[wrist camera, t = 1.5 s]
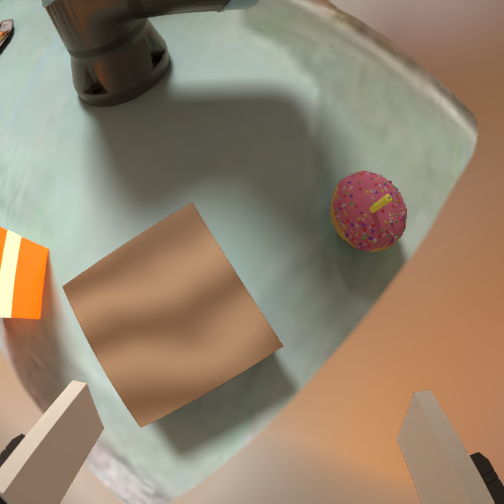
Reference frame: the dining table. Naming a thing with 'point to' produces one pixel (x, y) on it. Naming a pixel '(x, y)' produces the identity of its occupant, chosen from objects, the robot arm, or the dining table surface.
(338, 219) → the cupcake
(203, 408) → the dining table surface
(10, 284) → the orange juice
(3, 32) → the food plate
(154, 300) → the walnut riser
